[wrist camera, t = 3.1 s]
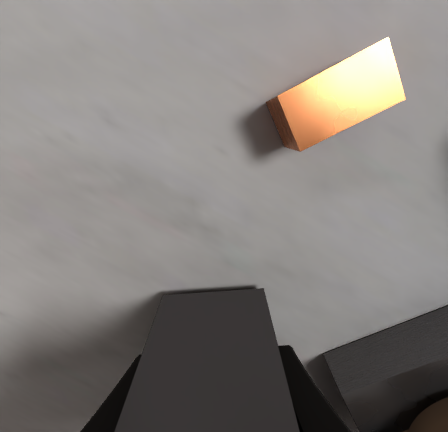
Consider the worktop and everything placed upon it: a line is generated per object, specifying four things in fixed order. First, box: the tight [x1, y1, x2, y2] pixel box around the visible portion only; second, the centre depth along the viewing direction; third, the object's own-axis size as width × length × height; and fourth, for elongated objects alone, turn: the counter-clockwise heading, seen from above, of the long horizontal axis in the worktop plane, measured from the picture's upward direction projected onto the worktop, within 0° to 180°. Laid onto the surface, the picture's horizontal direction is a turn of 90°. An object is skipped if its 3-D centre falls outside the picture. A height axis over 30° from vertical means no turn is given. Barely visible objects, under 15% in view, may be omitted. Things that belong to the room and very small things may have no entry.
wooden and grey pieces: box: [266, 37, 448, 432], centre depth 10 cm, size 18×7×2 cm, turn 27°
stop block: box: [115, 288, 300, 432], centre depth 8 cm, size 4×4×7 cm
